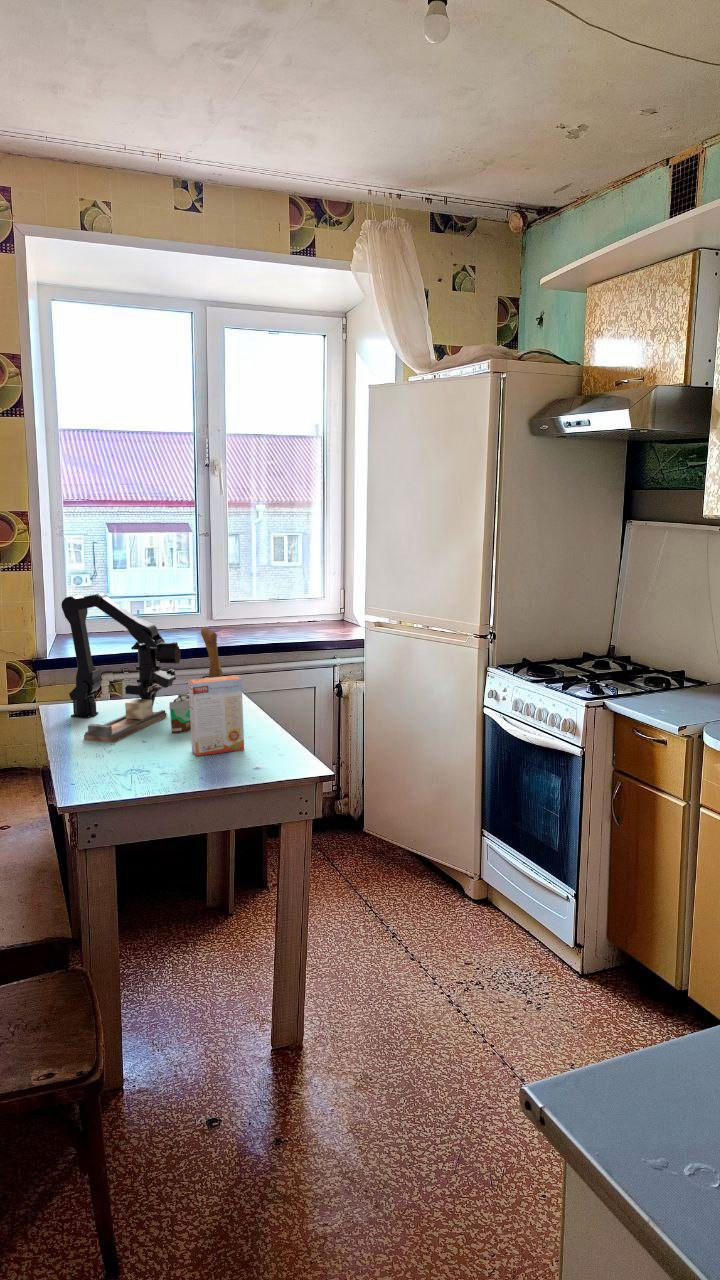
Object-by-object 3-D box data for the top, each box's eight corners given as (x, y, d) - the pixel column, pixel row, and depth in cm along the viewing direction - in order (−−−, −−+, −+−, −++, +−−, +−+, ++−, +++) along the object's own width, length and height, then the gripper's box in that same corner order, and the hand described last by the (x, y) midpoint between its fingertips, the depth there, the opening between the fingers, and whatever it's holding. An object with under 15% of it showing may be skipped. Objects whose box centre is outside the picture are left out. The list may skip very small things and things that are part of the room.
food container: (190, 735, 260) (189, 702, 258) (170, 735, 260) (169, 702, 258) (199, 724, 272) (198, 693, 270) (179, 724, 272) (178, 693, 270)
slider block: (125, 718, 272) (125, 702, 271) (136, 713, 278) (135, 698, 277) (142, 719, 270) (141, 704, 269) (152, 714, 276) (152, 699, 275)
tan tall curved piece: (209, 719, 278) (206, 633, 273) (202, 705, 296) (199, 624, 291) (230, 717, 279) (227, 632, 275) (222, 704, 297) (220, 623, 293)
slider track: (84, 739, 255) (83, 725, 254) (139, 715, 283) (139, 701, 283) (113, 742, 252) (112, 727, 251) (166, 717, 280) (166, 703, 279)
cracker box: (238, 745, 249) (236, 674, 246) (244, 750, 244) (242, 678, 240) (190, 751, 244) (187, 678, 240) (195, 756, 238) (192, 682, 235)
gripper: (154, 670, 266) (156, 719, 268) (184, 658, 283) (186, 705, 286) (122, 668, 269) (125, 716, 272) (154, 657, 287) (156, 702, 289)
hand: (149, 710), depth 280 cm, fingers closed
